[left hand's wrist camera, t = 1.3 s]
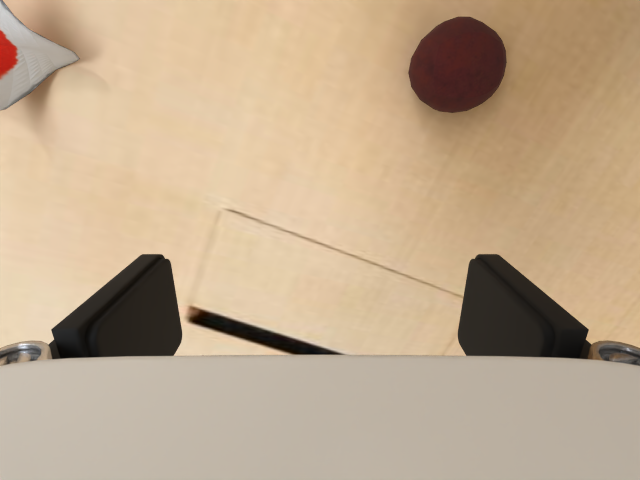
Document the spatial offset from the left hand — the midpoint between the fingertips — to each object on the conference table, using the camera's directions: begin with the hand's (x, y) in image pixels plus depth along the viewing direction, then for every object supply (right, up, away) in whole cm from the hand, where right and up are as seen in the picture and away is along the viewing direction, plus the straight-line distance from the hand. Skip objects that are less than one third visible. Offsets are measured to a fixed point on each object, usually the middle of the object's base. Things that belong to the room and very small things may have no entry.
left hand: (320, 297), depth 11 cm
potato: (+12, +18, +23) cm, 31 cm away
